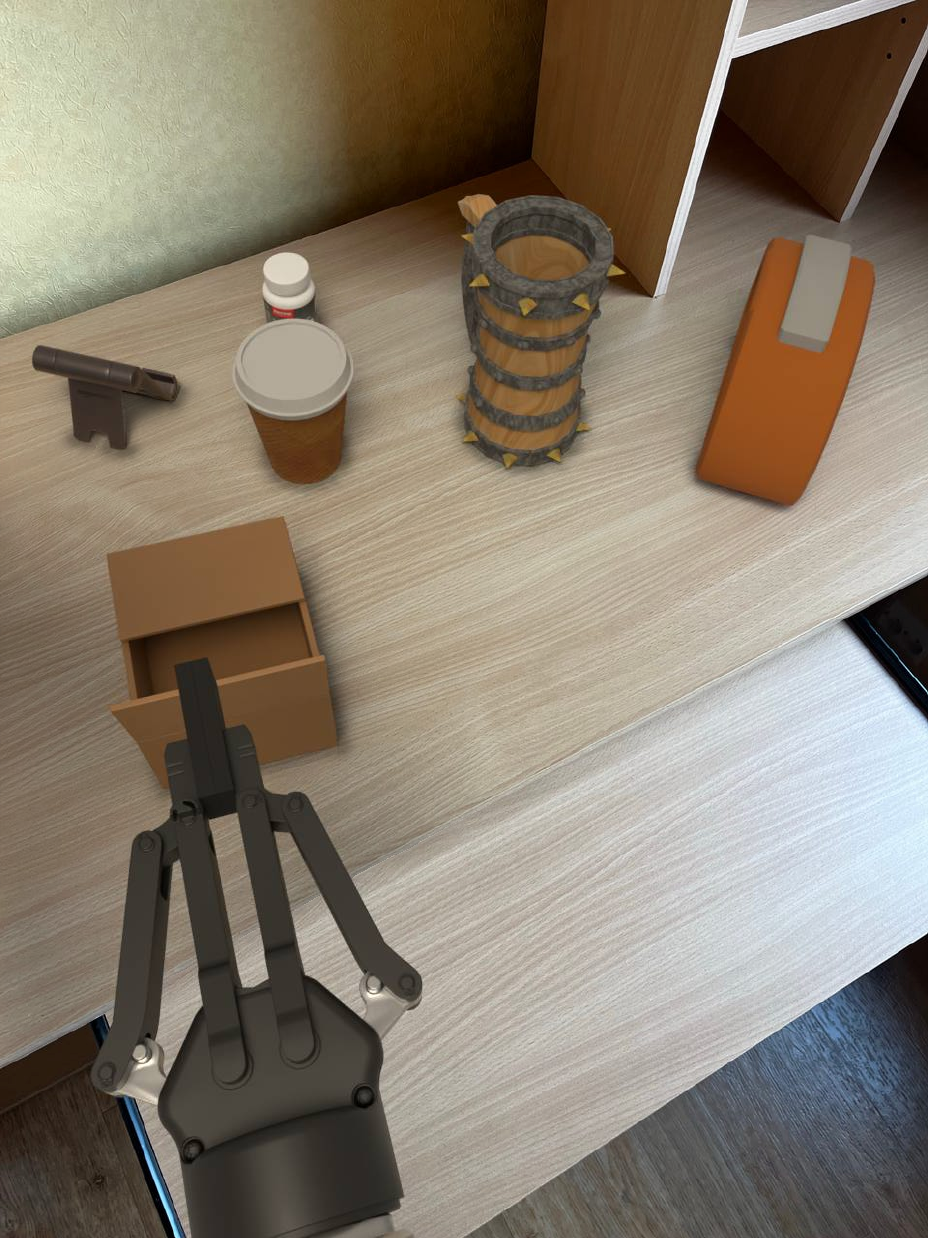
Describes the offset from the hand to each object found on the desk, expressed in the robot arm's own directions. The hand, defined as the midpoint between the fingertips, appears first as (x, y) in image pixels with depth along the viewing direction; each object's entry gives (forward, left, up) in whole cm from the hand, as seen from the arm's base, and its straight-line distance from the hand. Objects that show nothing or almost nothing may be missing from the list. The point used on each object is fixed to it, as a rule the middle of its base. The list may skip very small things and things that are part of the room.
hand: (196, 675), depth 48 cm
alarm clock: (+51, +29, -30) cm, 66 cm away
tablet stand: (-5, +44, -30) cm, 54 cm away
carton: (0, +15, -30) cm, 34 cm away
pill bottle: (+12, +49, -30) cm, 59 cm away
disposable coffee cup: (+10, +35, -30) cm, 48 cm away
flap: (0, +7, -17) cm, 19 cm away
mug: (+29, +36, -30) cm, 55 cm away
